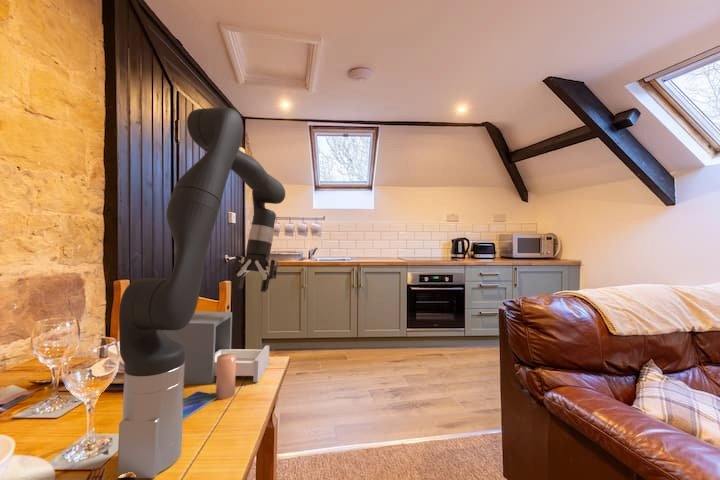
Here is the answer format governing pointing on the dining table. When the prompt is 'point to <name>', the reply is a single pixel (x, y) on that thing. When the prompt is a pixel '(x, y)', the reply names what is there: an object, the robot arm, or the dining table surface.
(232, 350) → the drawer
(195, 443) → the dining table surface
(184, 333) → the cabinet
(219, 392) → the tan rounded cylinder
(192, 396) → the smartphone
